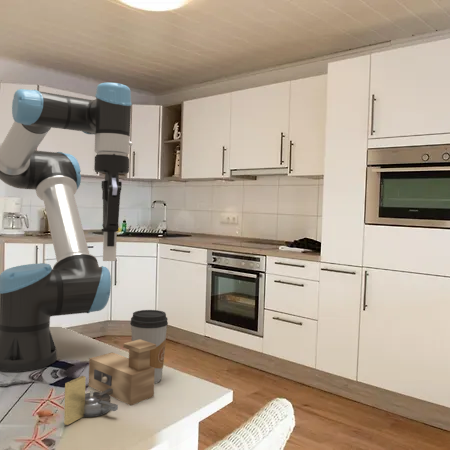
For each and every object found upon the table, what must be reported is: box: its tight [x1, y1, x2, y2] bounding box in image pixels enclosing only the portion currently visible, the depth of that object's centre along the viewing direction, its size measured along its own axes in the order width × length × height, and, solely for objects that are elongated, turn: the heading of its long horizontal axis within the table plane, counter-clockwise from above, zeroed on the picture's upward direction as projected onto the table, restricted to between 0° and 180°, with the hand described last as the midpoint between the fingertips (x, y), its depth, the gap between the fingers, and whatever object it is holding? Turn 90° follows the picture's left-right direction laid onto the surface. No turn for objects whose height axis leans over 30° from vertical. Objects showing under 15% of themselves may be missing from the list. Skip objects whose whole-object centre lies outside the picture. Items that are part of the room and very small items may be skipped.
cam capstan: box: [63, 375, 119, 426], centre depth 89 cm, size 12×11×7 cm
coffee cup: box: [130, 309, 169, 384], centre depth 106 cm, size 8×8×15 cm
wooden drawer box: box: [88, 339, 156, 406], centre depth 99 cm, size 14×7×11 cm, turn 50°
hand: (109, 260), depth 107 cm, fingers closed
